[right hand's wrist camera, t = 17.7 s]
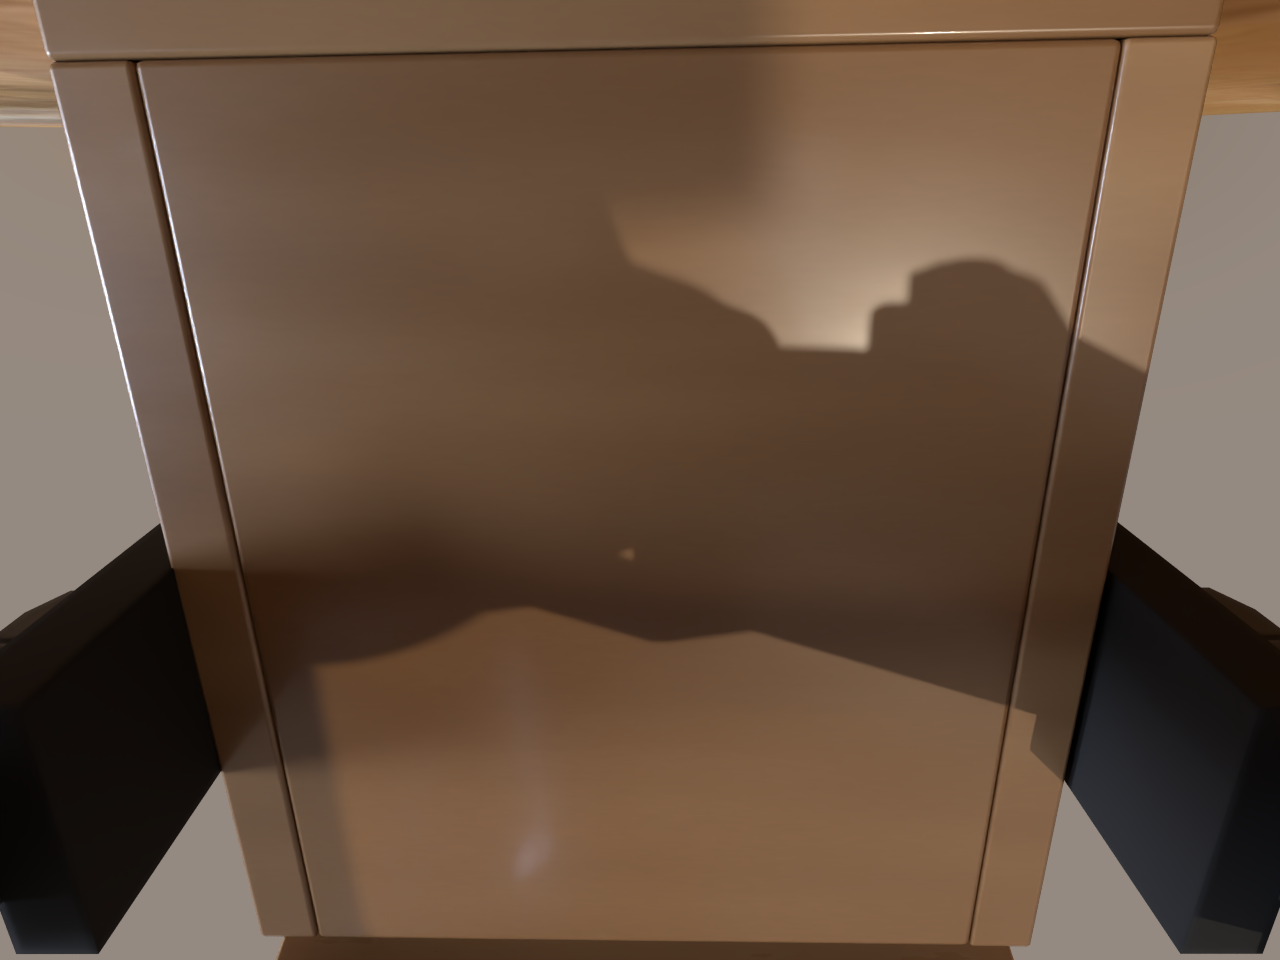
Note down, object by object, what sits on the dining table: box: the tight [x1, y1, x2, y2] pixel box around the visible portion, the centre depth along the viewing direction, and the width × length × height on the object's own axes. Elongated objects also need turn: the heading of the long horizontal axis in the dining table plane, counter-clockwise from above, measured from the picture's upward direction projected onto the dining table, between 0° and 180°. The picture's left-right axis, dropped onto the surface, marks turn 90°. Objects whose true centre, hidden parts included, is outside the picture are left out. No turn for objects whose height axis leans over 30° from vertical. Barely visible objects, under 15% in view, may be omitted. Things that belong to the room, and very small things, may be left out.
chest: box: [32, 0, 1224, 946], centre depth 16 cm, size 16×10×11 cm, turn 2°
